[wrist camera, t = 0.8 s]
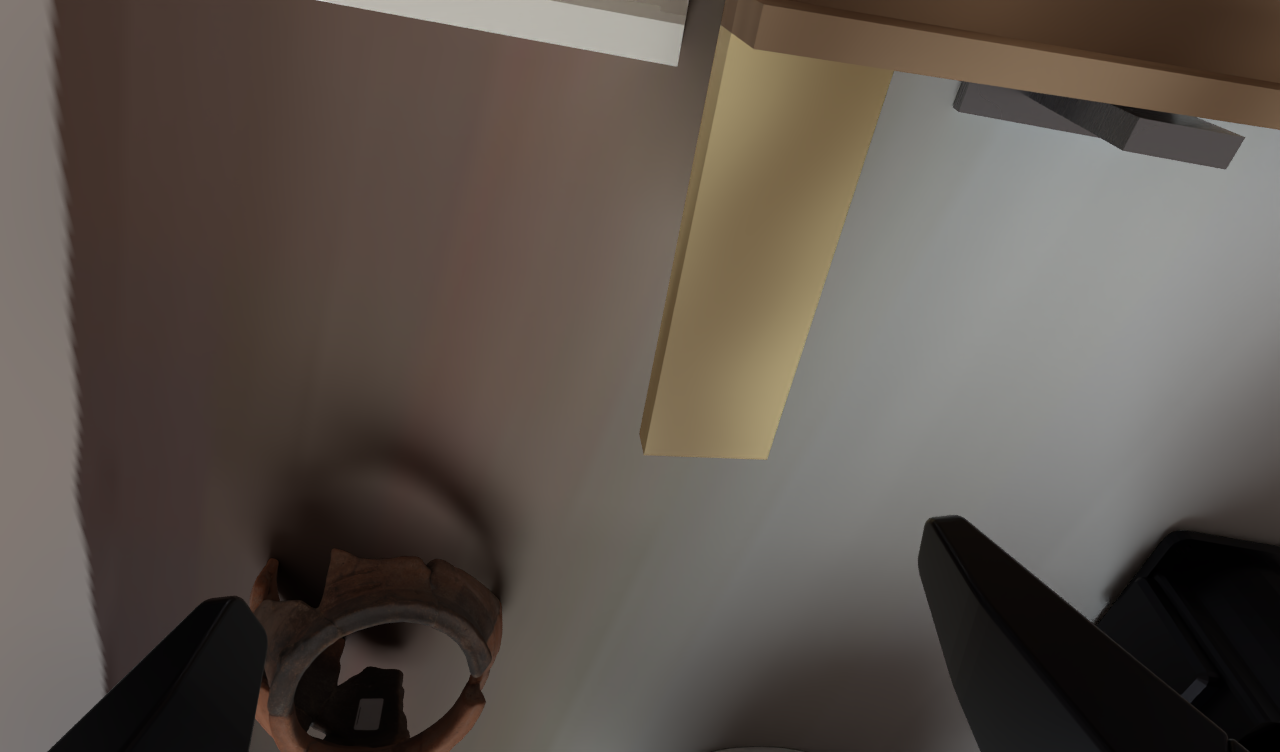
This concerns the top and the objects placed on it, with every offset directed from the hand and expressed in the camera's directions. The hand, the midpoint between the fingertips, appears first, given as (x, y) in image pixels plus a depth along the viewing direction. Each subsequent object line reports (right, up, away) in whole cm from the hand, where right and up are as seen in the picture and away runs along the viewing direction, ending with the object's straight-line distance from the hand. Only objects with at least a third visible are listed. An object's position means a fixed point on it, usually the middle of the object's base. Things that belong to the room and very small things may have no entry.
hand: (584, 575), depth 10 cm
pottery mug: (-10, -7, +21) cm, 24 cm away
